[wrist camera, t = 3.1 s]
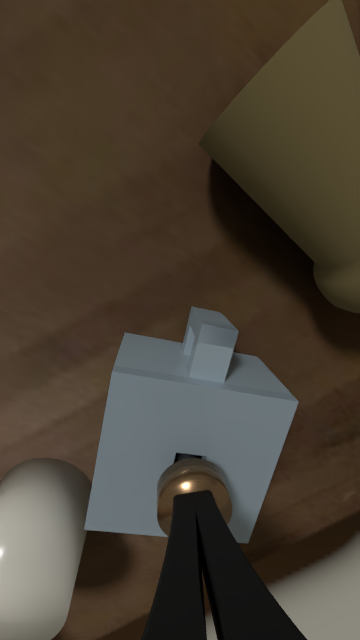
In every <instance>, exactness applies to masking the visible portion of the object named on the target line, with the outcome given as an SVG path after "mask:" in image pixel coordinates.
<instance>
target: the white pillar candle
mask: <svg viewBox="0 0 360 640" xmlns="http://www.w3.org/2000/svg"><path fill="white" fill-rule="evenodd" d="M91 488H92V484H91V482H90V480H89V478H88V477H87V476H86V475H85V474H84V473H83V472H82V471H81V470H80V469H79V468H77V467H76V466H74V465H72V464H70V463H68V462H65V461H62V460H58V459H51V458H39V459H32V460H29V461H25V462H23V463H20V464H19V465H17V466H15V467H14V468H12V469H11V470H10V471H9V472H8V473H7V474H6V475H5V476H4V478H3V479H2V481H1V482H0V640H51V639H52V638H54V637H55V636H56V635H57V634H58V633H59V632H60V630H61V629H62V627H63V626H64V624H65V622H66V619H67V615H68V611H69V607H70V602H71V598H72V594H73V589H74V585H75V581H76V577H77V572H78V568H79V564H80V559H81V555H82V551H83V546H84V542H85V538H86V534H87V530H84V527H85V521H86V516H87V510H88V504H89V499H90V493H91Z"/></svg>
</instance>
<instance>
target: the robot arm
mask: <svg viewBox="0 0 360 640" xmlns="http://www.w3.org/2000/svg"><path fill="white" fill-rule="evenodd" d="M202 571H203V576H204V580H205V585H206V589H207V594H208V598H209V603H210V607H211V612H212V616H213V621H214V625H215V630H216V635H217V639H218V640H307V639H306V638H305V636H304V635H303V634H302V633H301V632H300V631H299V629H298V628H297V627H296V626H295V624H294V623H293V622H292V621H291V619H290V618H289V617H288V615H287V614H286V613H285V612H284V610H283V609H282V608H281V606H280V605H279V604H278V602H277V601H276V600H275V598H274V597H273V596H272V594H271V593H270V592H269V590H268V589H267V587H266V586H265V585H264V583H263V582H262V580H261V579H260V578H259V576H258V575H257V573H256V571H255V570H254V568H253V567H252V565H251V564H250V562H249V561H248V559H247V558H246V556H245V555H244V553H243V551H242V550H241V548H240V546H239V545H238V543H237V541H236V540H235V538H234V536H233V535H232V533H231V531H230V529H229V528H228V526H227V524H226V522H225V520H224V518H223V516H222V514H221V512H220V510H219V508H218V506H217V504H216V502H215V499H214V497H213V494H212V492H211V491H210V490H203V491H197V492H191V493H185V494H178V495H175V496H174V497H173V513H172V521H171V528H170V534H169V539H168V544H167V549H166V554H165V559H164V563H163V567H162V571H161V575H160V579H159V583H158V586H157V590H156V594H155V597H154V601H153V604H152V607H151V611H150V614H149V617H148V620H147V623H146V626H145V630H144V633H143V636H142V638H141V640H207V635H206V621H205V607H204V593H203V579H202Z"/></svg>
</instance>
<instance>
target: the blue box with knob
mask: <svg viewBox="0 0 360 640" xmlns="http://www.w3.org/2000/svg"><path fill="white" fill-rule="evenodd" d="M238 332H239V331H238V330H237V329H236V328H235V327H234V326H233V325H232V324H231V323H230V322H229V321H228V320H227V319H226V318H225V316H224V315H223V314H222V313H221V312H216V311H211V310H206V309H201V308H196V307H191V311H190V316H189V320H188V324H187V328H186V332H185V337H184V341H183V343H179V342H174V341H169V340H163V339H158V338H152V337H147V336H141V335H136V334H130V333H125V334H124V337H123V340H122V343H121V346H120V349H119V352H118V355H117V358H116V361H115V365H114V368H113V371H112V376H111V381H110V387H109V392H108V398H107V404H106V409H105V415H104V420H103V426H102V432H101V437H100V443H99V448H98V454H97V460H96V465H95V471H94V476H93V482H92V488H91V493H90V499H89V504H88V510H87V516H86V521H85V527H84V530H93V531H104V532H116V533H128V534H140V535H152V536H164V537H168V536H167V535H166V534H165V533H164V532H163V531H162V530H161V528H160V526H159V524H158V520H157V483H158V480H159V478H160V476H161V475H162V473H163V472H164V471H165V470H166V469H167V468H168V467H169V466H171V465H172V464H174V463H176V462H177V454H176V453H184V454H192V455H196V458H199V459H204V460H207V461H210V462H212V463H213V464H215V465H216V466H217V467H218V468H219V469H220V470H221V472H222V474H223V476H224V479H225V483H226V486H227V489H228V493H229V496H230V499H231V503H232V516H231V519H230V521H229V523H228V525H227V526H228V528H229V529H230V531H231V533H232V535H233V536H234V538H235V540H236V541H237V543H247V544H248V542H249V540H250V537H251V534H252V531H253V528H254V526H255V523H256V520H257V517H258V514H259V512H260V509H261V506H262V503H263V500H264V497H265V495H266V492H267V489H268V486H269V483H270V481H271V478H272V475H273V472H274V469H275V467H276V464H277V461H278V458H279V455H280V453H281V450H282V447H283V444H284V441H285V439H286V436H287V433H288V430H289V427H290V425H291V422H292V419H293V416H294V413H295V411H296V408H297V405H298V400H297V399H296V398H295V397H294V396H293V395H292V394H291V393H290V392H289V391H288V390H287V388H286V387H285V386H284V385H283V384H282V383H281V382H280V381H279V380H278V379H277V378H276V376H275V375H274V374H273V373H272V372H271V371H270V370H269V369H268V368H267V367H266V366H265V365H264V363H263V362H262V361H261V360H260V359H259V358H258V357H256V356H251V355H245V354H240V353H234V352H233V350H234V346H235V343H236V339H237V336H238Z"/></svg>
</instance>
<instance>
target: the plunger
mask: <svg viewBox="0 0 360 640" xmlns="http://www.w3.org/2000/svg"><path fill="white" fill-rule="evenodd" d="M176 454H177V462H176V463H174V464H172V465H171V466H169V467H168V468H167V469H166V470H165V471H164V472H163V473H162V475H161V476H160V478H159V480H158V483H157V520H158V524H159V526H160V528H161V530H162V531H163V532H164V533H165V534H166V535H167V536H168V537H169V534H170V528H171V521H172V513H173V497H174V496H175V495H178V494H185V493H191V492H197V491H203V490H210V491H211V492H212V494H213V497H214V499H215V502H216V504H217V506H218V508H219V510H220V512H221V514H222V516H223V518H224V520H225V522H226V524H227V525H228V523H229V521H230V519H231V516H232V503H231V499H230V496H229V493H228V489H227V486H226V483H225V479H224V476H223V474H222V472H221V470H220V469H219V468H218V467H217V466H216V465H215V464H213V463H212V462H210V461H207V460H204V459H199V458H196V455H192V454H184V453H176Z"/></svg>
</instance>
